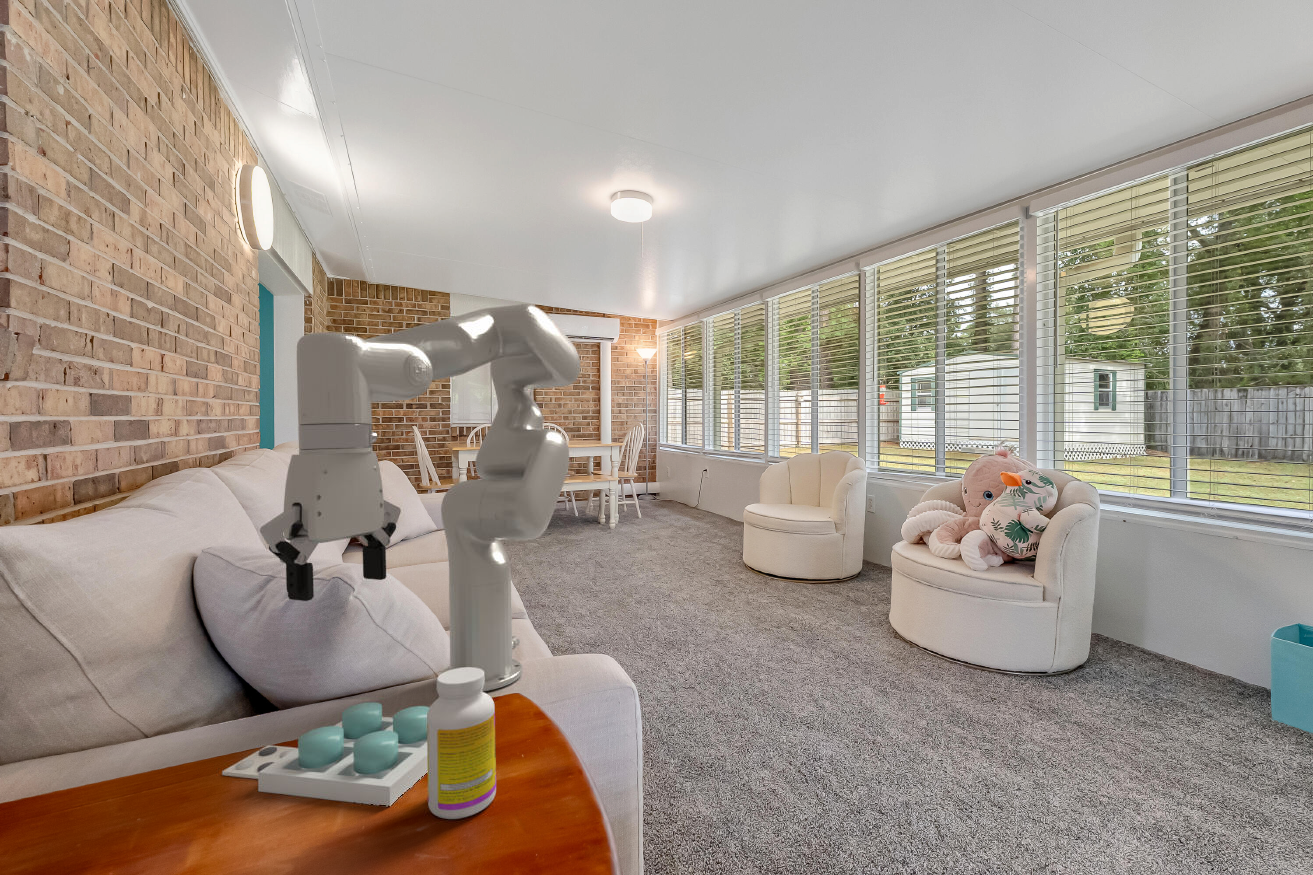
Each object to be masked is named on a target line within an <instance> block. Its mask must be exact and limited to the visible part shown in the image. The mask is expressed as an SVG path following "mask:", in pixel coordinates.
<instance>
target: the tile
mask: <svg viewBox="0 0 1313 875" xmlns="http://www.w3.org/2000/svg"><path fill="white" fill-rule="evenodd" d="M297 748H298V747H292V746H282V745H281V746H280V745H279V746H278V745H271V744H270V745H269V744H268V745H266V746H264V747H262V748H260V749H259V750H260V751H259V750H257V751H255V752H253V753H252V754H249V756H247V757H245V758H243V759H241V760H240V761H238V762H237V763H235V764H233V765H231V766H229V767H227V768H226V769H224V770H222V771H221V772H222V774H221V775H222V776H229V777H236V778H237V777H238V778H244V779H245V778H246V779H254V780H258V772H260V771H261V770H263V769H265V768H266V767H268V766H269V765H271V764H273V763H274V762H276V761H278V760H279V759H281V758H282V757H284V756H286V755H287V754H289V753H291V752H292V751H294V750H295V749H297Z"/></svg>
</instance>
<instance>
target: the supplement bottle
mask: <svg viewBox="0 0 1313 875" xmlns="http://www.w3.org/2000/svg"><path fill="white" fill-rule="evenodd" d="M441 673H442V672H441ZM441 673H440V674H439V675H438V676H437V677H436V688H435V689H436V691H437V695H438V699H436V700H434V702H433V703H431V705H430V706H429V707H430V708H429V710H428V713H427V762H428V773H427V801H428V802H427V804H428V809H429V810H430V812H431V813H432V814H433V815H435V816H437V817H438V818H441V819H446V820H457V819H458V820H459V819H463V818H467V817H470V816H473V815H476V814H477V813H479V812H481V811H482V810H484V809H486V808H487V807H489V805H490V804H491V803H492V802H493V800H494V798H495V796H496V793H497V762H496V761H497V760H496V758H497V756H496V755H497V754H496V715H495V714H496V712H495V702H494V700H493V698H492V696H490V695H489V694H487V693H486V692H485V691H482V689H483V687H484V684H485V676H484V671H483V670H482V669H479V668H473V667H464V668H457V669H452V670H449V671H446V672H444V673H442V674H441Z"/></svg>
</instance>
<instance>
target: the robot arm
mask: <svg viewBox="0 0 1313 875" xmlns="http://www.w3.org/2000/svg"><path fill="white" fill-rule="evenodd" d="M577 350H578V349H577V348H576V347H575V345H574V344H573V342H572V341H571V340H570V338H569V337H568V336H567V335H566V334H565V333H564V332H563V331H562V329H561V328H560V327H559V326H558V325H557V323H556V322H555V321H554V320H553V319H552V318H551V317H550V316H549V315H548V314H547V313H546V312H545V311H544V310H542V309H541V308H539V307H537V306H536V305H533V304H529V303H520V304H513V305H512V304H510V305H504V306H495V307H494V306H493V307H486V308H481V309H477V310H474V311H470V312H467V313H463V314H460V315H457V316H454V317H453V316H452V317H449V318H445V319H442V320H437V321H434V322H430V323H425V324H421V325H417V326H414V327H411V328H410V327H409V328H408V329H407V328H406V329H404V330H398V331H396V332H390V333H387V334H382V335H378V336H373V337H370V338H365V339H364V338H362V337H360V336H357V335H355V334H354V335H353V334H349V333H343V332H342V333H341V332H324V331H323V332H312V333H308V334H305V335H303V336H301V337H300V339H298V341H297V344H296V380H297V381H296V382H297V384H296V386H297V388H296V390H297V392H296V394H297V420H298V421H297V424H298V427H297V428H298V429H297V430H298V454H291V456H290V461H289V465H288V467H287V468H288V469H287V474H286V479H285V486H284V487H285V488H284V497H283V499H284V500H283V511H282V513H280V514H278V515H277V516H276V517H274V518H272V519H271V520H270V521H268V522H266V523H265V524H263V525H262V526H260V529H259V531H260V532H259V533H260V534H261V537H262V539H264V541H265V543H266V545H268V550H269V551H270V552H271V553H272V554H274V556H275V557H277V558H278V559H279V562H280V563H282V564H285V578H286V580H285V582H286V583H285V584H286V586H285V587H286V592H287V597H288V599H289V600H293V601H299V602H300V601H301V602H308V601H311V600H313V598H315V595H314V594H315V592H314V591H315V590H314V564H313V563H312V562H307V561H308V560H309V559H310V557H311V555H312V554H313V552H314V551H315V550H316V549H317V548H316V547H317V546H318V545H319V544H323V543H331V542H336V541H341V540H345V539H352V538H356V537H357V538H358V537H360V538H361V539H363V541H364V542H365V543H366V544H367V545H364V546H363V545H362V577H363V578H364V579H366V580H374V581H376V580H377V581H382V580H386V578H387V552H386V551H387V550H386V547H388V546H389V545H390V544H391V537H392V536H393V534H394V533H395V531H397V530H396V529H397V525H396V524H398V521H399V519H400V518H399V517H400V515H401V513H402V511H401V508H400V507H399V506H397V505H395V504H393V503H391V502H389V501H387V500H385V499H384V491H383V483H382V475H381V470H380V464H379V459H378V457H377V452H375V451H374V450H373V443H375V442H376V441H377V440H378V435H377V433H376V432H375V431H373V426H372V425H373V422H372V421H373V415H372V414H373V413H372V410H373V409H372V403H387V402H388V403H389V402H402V401H409V400H413V399H416V398H418V397H420V396H422V395H423V394H425V393H426V391H427V390H428V389H429V388H430V386H431V384H432V383H433V381H437V380H444V379H449V378H453V377H457V376H462V375H464V374H467V373H468V372H470V371H473V370H476V369H477V368H480V367H482V366H484V365H487V364H488V363H490V370H489V371H490V376H491V380H492V384H493V387H494V391H495V395H496V400H497V412H496V413H495V416H494V419H493V420H492V422H491V425H490V427H489V429H488V430H487V432H486V434H485V437H484V439H483V440H482V442H481V444H480V447H479V448H478V452H477V454H476V458H475V464H474V465H475V466H474V467H475V471H476V473H477V475H478V477H480V479H468V480H464V481H461V482H457V483H456V484H454V485H452V486H451V487H450V488H449V489H448V490H447V491H446V492H445V494H444V496H443V497H442V501H441V506H440V512H441V514H440V515H441V520H442V521H441V522H442V527H443V530H444V535H445V539H446V540H445V541H446V546H447V557H448V589H449V590H448V592H449V593H448V594H449V595H448V601H449V604H448V605H449V606H448V607H449V609H448V610H449V661H450V662H449V665H450V666H449V667H446V668H445V669H444V670H443V671H442V672H441V673H440V674H442V673H444V672H446V671H449V670H452V669H457V668H464V667H473V668H479V669H482V670H483V671H484V676H485V684H484V687H483V689H482V691H483V692H487V691H493V690H497V689H500V688H503V687H507V686H508V685H511V684H513V683H514V682H516V681H517V680H518V679H520V678H521V676H522V675H523V664H522V663H521V662H519V661H518V660H516V659H514V658H513V650H514V649H516V648H517V647H519V645H520V642H521V641H520V638H519V637H518V636H515V635H513V634H512V632H513V630H512V629H513V626H512V625H513V624H512V623H513V620H512V619H513V618H512V567H511V566H512V565H511V562H510V559H509V556H508V552H507V551H506V549H505V548H504V546H503V544H502V542H501V541H531V540H535V539H538V538H540V537H541V536H542V535H543V534H544V533H545V531H546V530H547V528H548V526H549V525H550V522H551V520H552V517H553V516H554V515H553V514H554V513H555V512H554V511H555V508H556V506H557V503H558V501H559V498H560V495H561V494H562V493H561V492H562V490H563V487H564V484H565V481H566V478H567V475H568V470H569V467H570V450H569V445H568V442H567V441H566V438H565V437H564V436H563V434H561V433H560V432H559V431H557V430H555V429H551V428H543V426H544V425H543V424H544V416H543V412H542V410H541V409H540V407H539V405H538V404H537V403H536V401H535V400H534V399H533V398H532V397H531V394H530V392H529V390H535V389H536V390H537V389H553V388H565V387H567V386H570V385H572V384H574V383H575V382H576V380H578V377H579V375H580V372H581V360H580V355H579V353H578V351H577Z"/></svg>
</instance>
